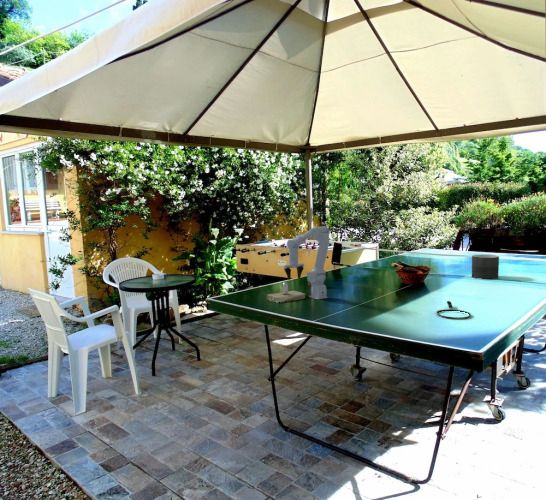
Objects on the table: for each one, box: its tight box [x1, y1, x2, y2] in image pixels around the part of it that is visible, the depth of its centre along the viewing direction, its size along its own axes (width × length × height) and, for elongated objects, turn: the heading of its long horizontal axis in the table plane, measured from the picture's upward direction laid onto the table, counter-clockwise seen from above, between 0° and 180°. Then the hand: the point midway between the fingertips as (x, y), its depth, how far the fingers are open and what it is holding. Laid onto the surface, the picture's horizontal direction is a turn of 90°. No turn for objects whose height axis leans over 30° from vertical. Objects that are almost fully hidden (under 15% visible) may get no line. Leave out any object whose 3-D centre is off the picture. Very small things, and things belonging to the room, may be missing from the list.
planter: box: [471, 254, 500, 280], centre depth 323 cm, size 18×18×16 cm
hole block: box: [266, 290, 306, 304], centre depth 271 cm, size 12×20×3 cm, turn 120°
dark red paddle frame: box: [435, 300, 472, 319], centre depth 229 cm, size 28×16×3 cm, turn 166°
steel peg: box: [282, 282, 289, 295], centre depth 271 cm, size 3×3×10 cm
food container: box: [305, 271, 311, 288], centre depth 308 cm, size 12×6×10 cm, turn 62°
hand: (294, 278), depth 288 cm, fingers open, 7 cm apart
